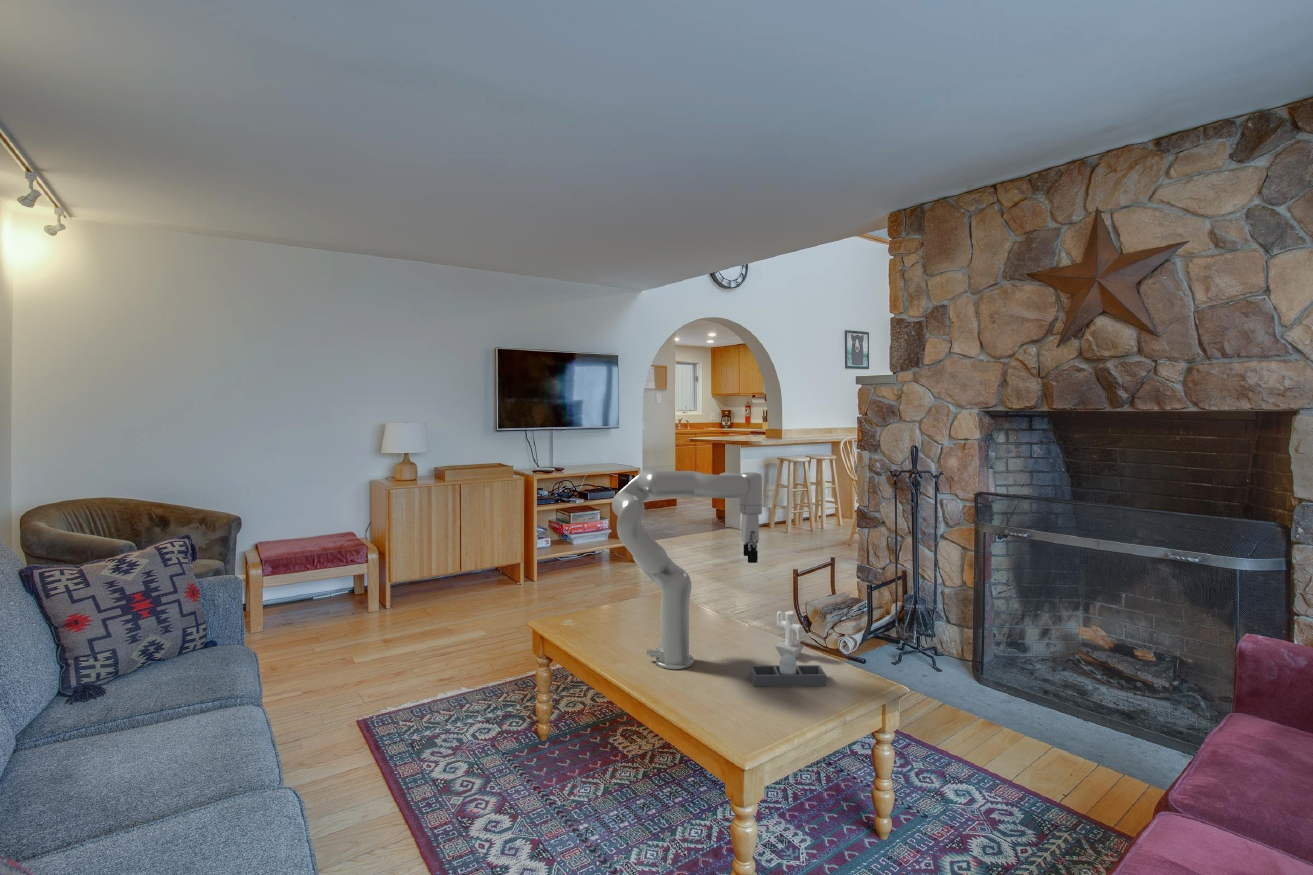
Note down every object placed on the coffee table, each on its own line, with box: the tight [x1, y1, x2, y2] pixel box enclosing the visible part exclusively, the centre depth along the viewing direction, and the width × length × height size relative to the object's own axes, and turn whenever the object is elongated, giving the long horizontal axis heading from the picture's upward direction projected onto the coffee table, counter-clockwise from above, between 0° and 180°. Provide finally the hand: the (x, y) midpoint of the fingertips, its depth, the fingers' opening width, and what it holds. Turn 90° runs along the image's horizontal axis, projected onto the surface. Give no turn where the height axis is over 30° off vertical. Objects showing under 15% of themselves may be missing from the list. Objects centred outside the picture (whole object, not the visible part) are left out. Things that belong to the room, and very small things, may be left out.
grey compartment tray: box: [749, 664, 828, 688], centre depth 197 cm, size 22×8×3 cm, turn 91°
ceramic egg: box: [778, 654, 797, 675], centre depth 197 cm, size 5×5×8 cm
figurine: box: [774, 610, 805, 659], centre depth 217 cm, size 7×9×15 cm
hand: (750, 559), depth 219 cm, fingers open, 9 cm apart
